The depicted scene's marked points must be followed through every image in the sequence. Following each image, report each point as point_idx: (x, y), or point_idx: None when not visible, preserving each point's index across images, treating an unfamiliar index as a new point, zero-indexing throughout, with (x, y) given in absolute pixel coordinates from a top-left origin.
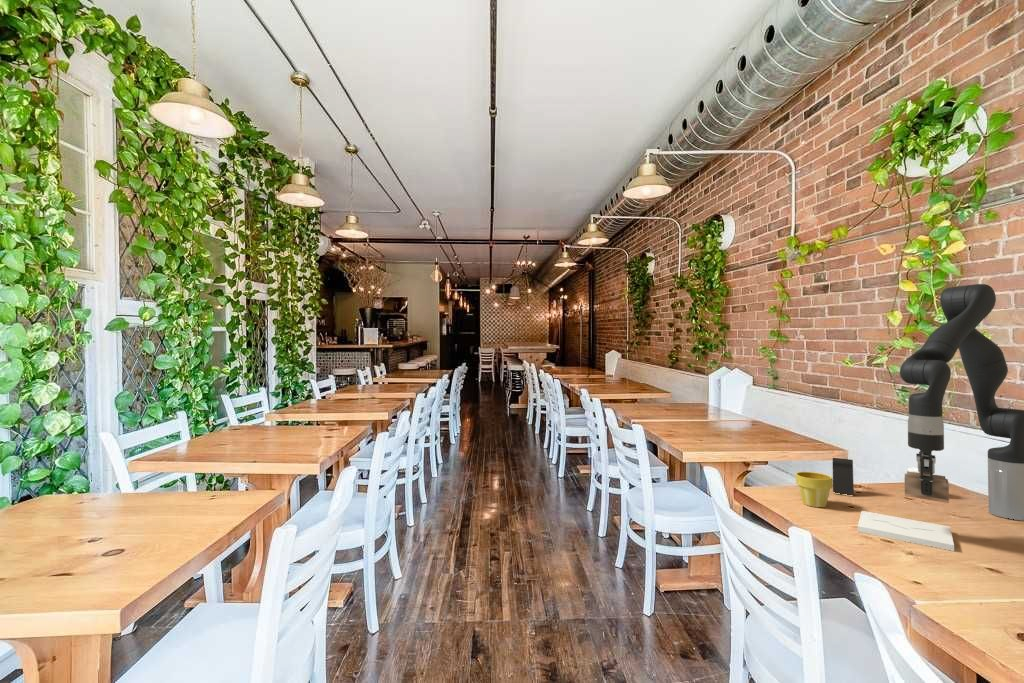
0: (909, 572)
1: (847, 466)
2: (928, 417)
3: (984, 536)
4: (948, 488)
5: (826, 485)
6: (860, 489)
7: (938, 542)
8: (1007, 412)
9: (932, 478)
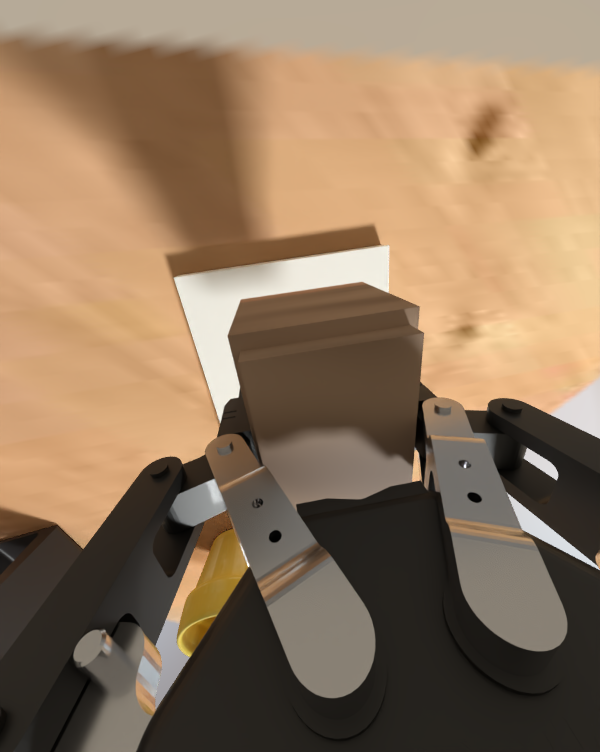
0: (593, 310)
1: None
2: None
3: (109, 166)
4: (397, 299)
5: None
6: None
7: (388, 285)
8: None
9: (539, 410)
